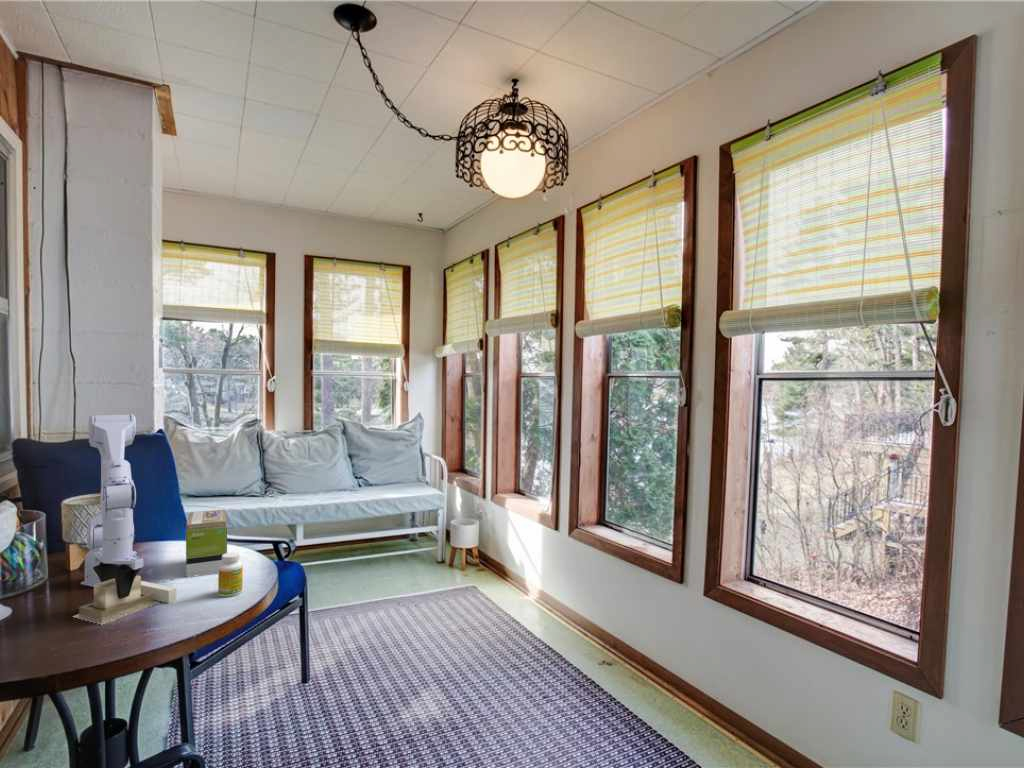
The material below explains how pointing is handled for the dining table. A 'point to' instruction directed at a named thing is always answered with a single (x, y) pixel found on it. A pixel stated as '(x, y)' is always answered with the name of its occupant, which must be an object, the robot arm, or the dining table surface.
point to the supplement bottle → (230, 575)
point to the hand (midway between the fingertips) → (117, 595)
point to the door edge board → (159, 591)
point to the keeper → (115, 610)
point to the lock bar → (114, 593)
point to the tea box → (205, 541)
